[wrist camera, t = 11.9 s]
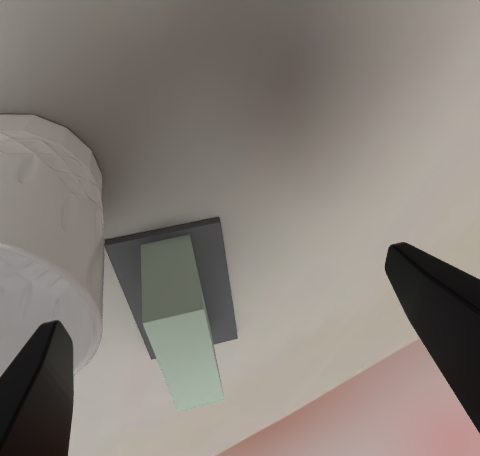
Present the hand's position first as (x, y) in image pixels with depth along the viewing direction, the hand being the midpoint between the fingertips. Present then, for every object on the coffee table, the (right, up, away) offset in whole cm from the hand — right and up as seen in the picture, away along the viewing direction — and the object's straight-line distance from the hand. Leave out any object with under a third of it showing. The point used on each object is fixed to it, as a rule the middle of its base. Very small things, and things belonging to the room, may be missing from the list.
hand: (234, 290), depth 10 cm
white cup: (-10, +4, +9) cm, 15 cm away
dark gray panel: (-4, -3, +17) cm, 17 cm away
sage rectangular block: (-4, -3, +16) cm, 16 cm away
